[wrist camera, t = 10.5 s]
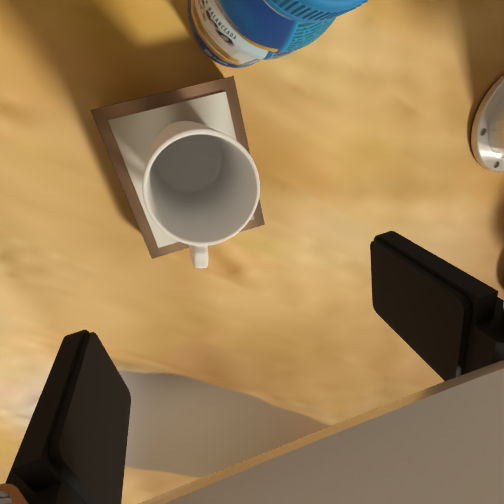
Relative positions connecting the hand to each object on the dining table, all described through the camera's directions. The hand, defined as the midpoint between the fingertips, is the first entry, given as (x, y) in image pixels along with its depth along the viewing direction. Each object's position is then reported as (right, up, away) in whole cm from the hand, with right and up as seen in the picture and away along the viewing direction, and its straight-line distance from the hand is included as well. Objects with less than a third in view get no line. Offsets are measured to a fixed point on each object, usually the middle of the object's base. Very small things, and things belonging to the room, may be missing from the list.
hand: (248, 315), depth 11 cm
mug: (-6, +9, +19) cm, 22 cm away
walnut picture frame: (-7, +11, +23) cm, 26 cm away
